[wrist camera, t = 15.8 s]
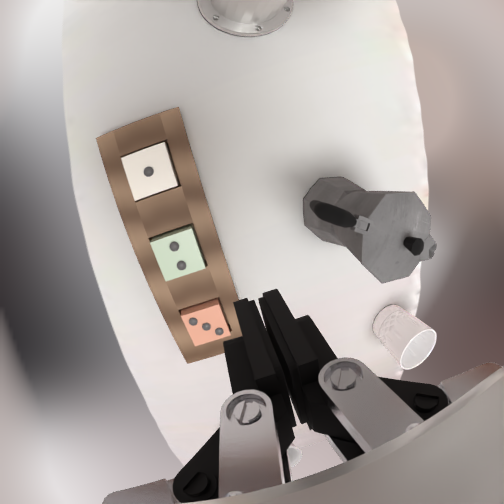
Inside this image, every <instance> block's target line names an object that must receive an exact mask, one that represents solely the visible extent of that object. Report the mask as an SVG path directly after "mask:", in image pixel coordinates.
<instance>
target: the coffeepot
mask: <svg viewBox="0 0 504 504" xmlns="http://www.w3.org/2000/svg"><path fill="white" fill-rule="evenodd" d="M303 214H304V222H305V226H306V227H307V228H308V229H310V230H311V231H312V232H313V233H314V234H315V235H317V236H318V237H319V238H320V239H321V240H323V241H326V242H330V243H334V244H337V245H341V246H344V247H347V248H348V249H349V251H350V252H351V253H352V254H353V255H354V256H355V257H356V258H357V259H358V260H359V261H360V262H361V264H362V265H363V266H364V267H365V268H366V269H367V270H368V271H369V272H370V273H372V274H373V275H374V276H375V277H376V278H377V279H378V280H379V281H380V282H381V283H386V282H390V281H394V280H397V279H401V278H405V277H408V276H409V275H410V274H411V273H412V271H413V270H414V269H415V267H416V266H417V265H418V263H419V262H420V261H425V260H429V259H431V258H432V257H433V255H434V251H435V250H436V246H437V244H436V243H435V241H434V239H433V238H432V237H431V235H430V224H431V215H430V213H429V212H428V210H427V209H426V207H425V206H424V204H423V203H422V201H421V200H420V199H419V197H418V196H417V194H416V193H415V192H399V191H366V190H364V189H363V188H361V187H360V186H358V185H356V184H354V183H353V182H351V181H349V180H348V179H346V178H344V177H331V178H320V179H319V180H318V181H317V182H316V183H315V185H314V186H313V187H312V188H311V189H310V190H309V192H308V193H307V195H306V196H305V197H304V199H303Z"/></svg>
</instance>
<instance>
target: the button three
mask: <svg viewBox="0 0 504 504" xmlns="http://www.w3.org/2000/svg"><path fill="white" fill-rule="evenodd" d="M181 318H182V320H183V322H184V324H185V326H186V328H187V331H188V333H189V335H190V337H191V339H192V341H193V343H194V345H195V346H198V345H201V344H205V343H208V342H211V341H214V340H218V339H221V338H224V337H227V336H230V335H231V334H230V330H229V326H228V322H227V319H226V317H225V314H224V312H223V309H222V306H221V304H220V301H219V298H218V297H217V298H214V299H211V300H208V301H205V302H202V303H198V304H195V305H192V306H189V307H186V308H183V309H181Z"/></svg>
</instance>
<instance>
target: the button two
mask: <svg viewBox="0 0 504 504" xmlns="http://www.w3.org/2000/svg"><path fill="white" fill-rule="evenodd" d="M150 244H151V247H152V249H153V252H154V254H155V257H156V259H157V262H158V264H159V267H160V269H161V272H162V274H163V276H164V279H165V281H169V280H172V279H175V278H178V277H181V276H184V275H187V274H190V273H193V272H196V271H199V270H202V269H206V268H205V260H204V257H203V254H202V251H201V248H200V245H199V242H198V239H197V237H196V234H195V231H194V228H193V225H192V223H191V224H188V225H185V226H182V227H179V228H176V229H173V230H170V231H167V232H164V233H161V234H158V235H156V236H153V237H152V240H151V242H150Z"/></svg>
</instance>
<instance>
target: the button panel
mask: <svg viewBox="0 0 504 504" xmlns="http://www.w3.org/2000/svg"><path fill="white" fill-rule="evenodd" d="M96 140H97V143H98V147H99V150H100V154H101V157H102V161H103V164H104V167H105V170H106V174H107V177H108V180H109V183H110V186H111V189H112V192H113V195H114V198H115V201H116V204H117V207H118V209H119V212H120V215H121V218H122V220H123V223H124V226H125V229H126V231H127V234H128V236H129V239H130V242H131V244H132V247H133V249H134V252H135V254H136V256H137V259H138V261H139V264H140V266H141V268H142V271H143V273H144V275H145V278H146V280H147V282H148V285H149V287H150V289H151V291H152V294H153V296H154V298H155V300H156V302H157V304H158V307H159V309H160V311H161V313H162V315H163V317H164V319H165V321H166V323H167V325H168V327H169V329H170V331H171V333H172V335H173V337H174V339H175V341H176V343H177V345H178V347H179V349H180V351H181V353H182V355H183V356H184V358H185V360H186V362H187V364H189V363H192V362H196V361H199V360H202V359H206V358H209V357H213V356H216V355H219V354H222V353H225V352H224V346H223V341H226V340H230V339H233V338H237V337H240V336H242V333H241V329H240V326H239V322H238V318H237V315H236V311H235V308H234V304H233V302H235V301H238V300H239V299H238V296H237V293H236V290H235V287H234V284H233V281H232V278H231V275H230V272H229V269H228V266H227V263H226V260H225V257H224V254H223V251H222V248H221V245H220V241H219V238H218V235H217V232H216V229H215V226H214V223H213V220H212V216H211V213H210V210H209V207H208V204H207V200H206V197H205V194H204V191H203V187H202V184H201V181H200V178H199V174H198V171H197V168H196V164H195V161H194V158H193V154H192V151H191V148H190V144H189V141H188V138H187V134H186V131H185V127H184V124H183V120H182V117H181V113H180V110H179V107H176V108H173V109H170V110H167V111H164V112H161V113H158V114H155V115H153V116H150V117H147V118H144V119H141V120H139V121H136V122H134V123H131V124H128V125H126V126H123V127H121V128H118V129H116V130H114V131H111V132H109V133H107V134H104V135H102V136H100V137H97V138H96ZM163 142H165V143H167V146H168V149H169V153H170V156H171V159H172V162H173V166H174V169H175V172H176V175H177V179H178V182H179V184H178V186H175V187H172V188H169V189H166V190H163V191H161V192H158V193H155V194H152V195H150V196H147V197H144V198H141V199H139V200H136V201H135V200H134V197H133V194H132V191H131V188H130V185H129V182H128V179H127V176H126V173H125V169H124V166H123V163H122V160H121V158H123V157H125V156H128V155H130V154H133V153H135V152H138V151H141V150H143V149H146V148H149V147H151V146H154V145H157V144H160V143H163ZM191 223H192V225H193V228H194V231H195V234H196V237H197V239H198V242H199V245H200V248H201V251H202V254H203V257H204V260H205V268H206V269H202V270H199V271H196V272H193V273H190V274H187V275H184V276H181V277H178V278H175V279H172V280H169V281H165V279H164V276H163V274H162V272H161V269H160V267H159V264H158V262H157V259H156V257H155V254H154V252H153V249H152V247H151V244H150V242H151V240H152V237H153V236H156V235H158V234H161V233H164V232H167V231H170V230H173V229H176V228H179V227H182V226H185V225H188V224H191ZM217 297H218V298H219V301H220V304H221V306H222V309H223V312H224V314H225V317H226V319H227V322H228V326H229V330H230V334H231V335H230V336H227V337H224V338H221V339H218V340H214V341H211V342H208V343H205V344H201V345H198V346H195V345H194V343H193V341H192V339H191V337H190V335H189V333H188V331H187V328H186V326H185V324H184V322H183V320H182V318H181V309H183V308H186V307H189V306H192V305H195V304H198V303H202V302H205V301H208V300H211V299H214V298H217Z"/></svg>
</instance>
